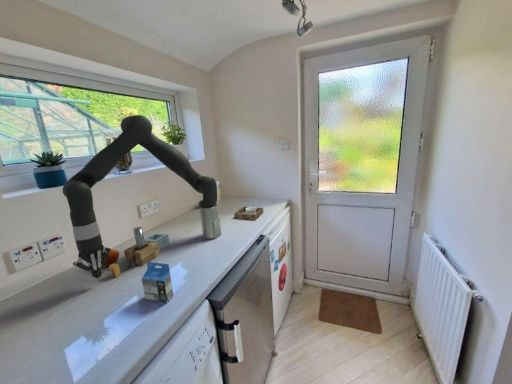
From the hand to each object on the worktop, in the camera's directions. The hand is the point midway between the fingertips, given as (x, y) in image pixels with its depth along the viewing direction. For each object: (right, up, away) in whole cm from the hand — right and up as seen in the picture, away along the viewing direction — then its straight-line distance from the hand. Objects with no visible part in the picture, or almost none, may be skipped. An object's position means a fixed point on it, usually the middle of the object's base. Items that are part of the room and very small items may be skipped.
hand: (97, 277), depth 87 cm
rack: (+9, +4, +30) cm, 32 cm away
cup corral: (+56, +16, +68) cm, 90 cm away
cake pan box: (+27, +22, +98) cm, 103 cm away
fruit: (-6, 0, +17) cm, 18 cm away
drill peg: (+8, +1, +19) cm, 21 cm away
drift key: (+4, -1, +10) cm, 10 cm away
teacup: (+57, +16, +70) cm, 91 cm away
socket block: (+8, +1, +19) cm, 21 cm away
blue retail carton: (+27, -4, -8) cm, 28 cm away
